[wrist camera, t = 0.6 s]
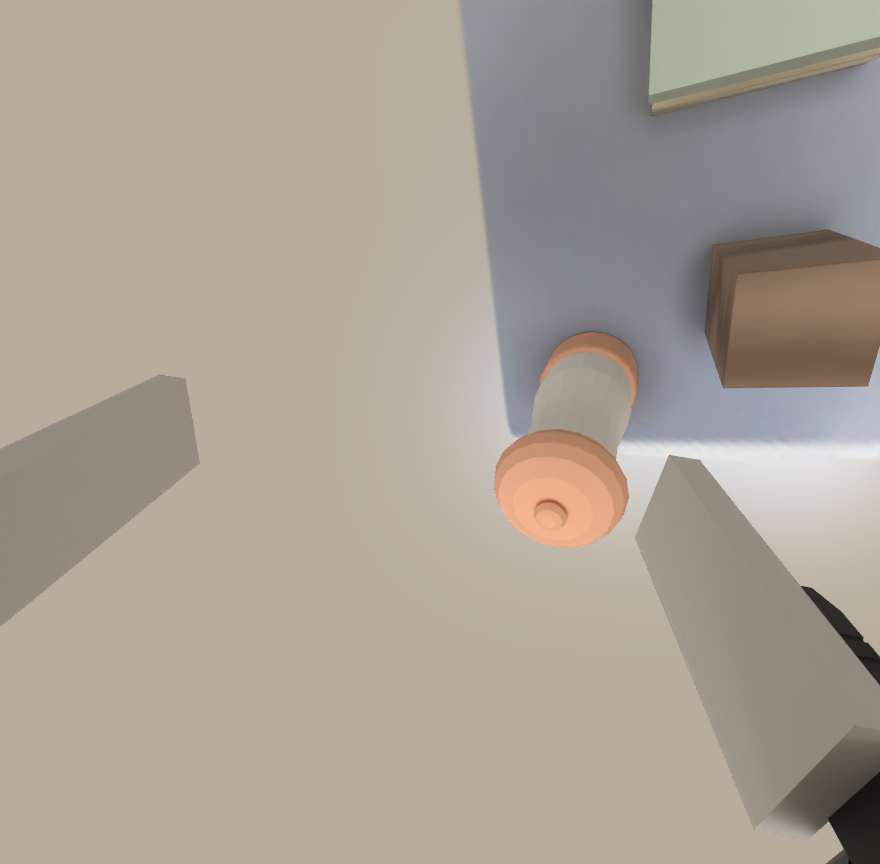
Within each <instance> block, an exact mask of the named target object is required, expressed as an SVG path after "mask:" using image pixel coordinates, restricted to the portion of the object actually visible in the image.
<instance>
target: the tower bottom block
mask: <svg viewBox="0 0 880 864" xmlns="http://www.w3.org/2000/svg"><path fill="white" fill-rule="evenodd" d="M879 56H880V47H879V48H875V49H871V50H867V51H863V52H859V53H855V54H851V55H847V56H843V57H839V58H835V59H831V60H827V61H823V62H819V63H815V64H811V65H807V66H803V67H799V68H795V69H791V70H787V71H783V72H778V73H774V74H770V75H766V76H762V77H758V78H754V79H750V80H746V81H742V82H738V83H734V84H730V85H726V86H722V87H718V88H714V89H710V90H706V91H702V92H698V93H694V94H690V95H686V96H682V97H678V98H674V99H670V100H666V101H662V102H657V103H653V104H652V116H654V115H658V114H662V113H666V112H670V111H675V110H679V109H683V108H687V107H691V106H695V105H699V104H703V103H707V102H711V101H715V100H719V99H723V98H727V97H731V96H735V95H740V94H744V93H748V92H752V91H756V90H760V89H764V88H768V87H772V86H776V85H780V84H784V83H788V82H792V81H796V80H800V79H804V78H809V77H813V76H817V75H821V74H825V73H829V72H833V71H837V70H841V69H845V68H849V67H853V66H857V65H861V64H864V63H867V62H869V61H871V60H873V59H875V58H877V57H879Z"/></svg>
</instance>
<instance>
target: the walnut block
mask: <svg viewBox="0 0 880 864" xmlns="http://www.w3.org/2000/svg"><path fill="white" fill-rule="evenodd" d="M705 335H706V338H707V341H708V344H709V347H710V350H711V353H712V356H713V359H714V362H715V365H716V368H717V371H718V374H719V377H720V380H721V383H722V386H723V388H773V387H858V386H868V384H869V381H870V377H871V374H872V370H873V367H874V364H875V360H876V357H877V353H878V350H879V346H880V248H878V247H875V246H873V245H870V244H867V243H864V242H861V241H859V240H856V239H853V238H850V237H847V236H845V235H842V234H839V233H836V232H833V231H831V230H823V231H816V232H808V233H800V234H793V235H785V236H777V237H770V238H762V239H754V240H747V241H739V242H731V243H724V244H716V245H713V253H712V263H711V274H710V284H709V294H708V305H707V315H706V325H705Z"/></svg>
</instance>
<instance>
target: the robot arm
mask: <svg viewBox="0 0 880 864" xmlns="http://www.w3.org/2000/svg"><path fill="white" fill-rule="evenodd" d="M199 463H200V461H199V455H198V450H197V444H196V438H195V433H194V426H193V420H192V414H191V408H190V403H189V397H188V391H187V386H186V380H185V379H184V378H177V377H171V376H165V375H158V376H155V377H153V378H151V379H149V380H147V381H145V382H142V383H141V384H138V385H136V386H134V387H132V388H130V389H127V390H125V391H123V392H121V393H119V394H117V395H115V396H113V397H110V398H108V399H106V400H104V401H102V402H99V403H97V404H95V405H93V406H91V407H89V408H87V409H85V410H82V411H80V412H78V413H76V414H74V415H72V416H69V417H68V418H65V419H63V420H61V421H59V422H57V423H54V424H52V425H50V426H48V427H46V428H44V429H42V430H39V431H37V432H35V433H33V434H31V435H29V436H27V437H25V438H22V439H20V440H18V441H16V442H14V443H12V444H9V445H7V446H5V447H3V448H1V449H0V627H1V626H2V625H3V624H4V623H5V622H7V621H8V620H9V619H10V618H12V617H13V616H14V615H15V614H17V612H19V611H20V610H21V609H23V608H24V607H25V606H26V605H27V604H29V603H30V602H31V601H32V600H34V599H35V598H36V597H37V596H38V595H40V594H41V593H42V592H43V591H45V590H46V589H47V588H48V587H49V586H51V585H52V584H53V583H54V582H56V581H57V580H58V579H59V578H60V577H62V576H63V575H64V574H65V573H67V571H69V570H70V569H71V568H73V567H74V566H75V565H76V564H78V563H79V562H80V561H81V560H82V559H84V558H85V557H86V556H87V555H88V554H90V553H91V552H92V551H93V550H95V549H96V548H97V547H98V546H100V545H101V544H102V543H103V542H104V541H105V540H107V539H108V538H109V537H110V536H111V535H113V534H114V533H115V532H117V531H118V530H119V529H120V528H121V527H123V526H124V525H125V524H126V523H127V522H129V521H130V520H131V519H132V518H134V517H135V516H136V515H137V514H139V512H141V511H142V510H143V509H144V508H146V507H147V506H148V505H149V504H150V503H152V502H153V501H154V500H156V499H157V498H158V497H159V496H160V495H162V494H163V493H164V492H165V491H166V490H167V489H169V488H170V487H171V486H173V485H174V484H175V483H176V482H178V481H179V480H180V479H181V478H182V477H184V476H185V475H186V474H187V473H189V472H190V471H191V470H192V469H193V468H195V467H196V466H197V465H198V464H199ZM635 538H636V541H637V544H638V546H639V549H640V551H641V554H642V556H643V559H644V561H645V563H646V566H647V568H648V571H649V573H650V576H651V578H652V581H653V583H654V585H655V588H656V590H657V593H658V595H659V598H660V600H661V602H662V605H663V608H664V610H665V613H666V615H667V617H668V620H669V622H670V625H671V627H672V630H673V632H674V634H675V637H676V640H677V642H678V645H679V647H680V649H681V652H682V654H683V657H684V659H685V662H686V664H687V666H688V669H689V672H690V674H691V676H692V679H693V681H694V684H695V686H696V689H697V691H698V693H699V696H700V698H701V701H702V703H703V706H704V708H705V711H706V713H707V715H708V718H709V721H710V723H711V726H712V728H713V730H714V733H715V735H716V738H717V740H718V743H719V745H720V748H721V750H722V753H723V755H724V757H725V760H726V762H727V765H728V767H729V770H730V772H731V775H732V777H733V779H734V782H735V784H736V787H737V789H738V792H739V794H740V796H741V799H742V801H743V804H744V806H745V809H746V811H747V814H748V816H749V819H750V821H751V824H752V826H753V828H754V830H758V831H763V832H768V833H773V834H777V835H782V836H787V837H791V838H796V839H801V840H806V841H807V840H808V839H809V838H810V837H812V836H813V835H814V834H815V833H816V832H817V831H818V830H819V829H821V828H822V827H823V826H824V825H825V824H826V823H827V822H828V821H829V822H830V823H831V826H832V827H833V829H834V831H835V833H836V835H837V837H838V839H839V840H840V842H841V844H842V846H843V848H844V850H842V851H841V852H840V853H839V854H837V855H836V856H835V857H834V858H832V860H830V861H829V862H828V863H826V864H880V656H879V655H878V654H877V653H876V652H875V651H874V649H873V648H872V647H871V646H870V645H869V643H865V642H864V641H863V636H862V635H861V634H860V633H859V632H858V631H857V630H856V628H855V627H854V626H853V625H852V624H851V623H850V621H849V620H848V619H847V618H846V617H845V615H844V614H843V613H842V612H841V611H840V610H839V609H837V608H836V607H835V606H834V605H832V604H831V603H830V602H829V601H827V600H826V599H825V598H824V597H822V596H821V595H820V594H819V593H817V592H816V591H815V590H814V589H812V588H809V587H804V586H800V585H799V584H798V583H797V581H796V580H795V579H794V578H793V576H792V575H791V574H790V573H789V571H788V570H787V569H786V568H785V566H784V565H783V564H782V562H781V561H780V560H779V559H778V557H777V556H776V555H775V554H774V553H773V551H772V550H771V549H770V548H769V547H768V545H767V544H766V542H765V541H764V540H763V539H762V538H761V536H760V535H759V534H758V532H757V531H756V530H755V529H754V527H752V525H751V524H750V522H749V521H748V520H747V519H746V517H745V516H744V515H743V514H742V513H741V511H740V510H739V509H738V507H737V506H736V505H735V504H734V502H733V501H732V500H731V499H730V497H729V496H728V495H727V494H726V492H725V491H724V490H723V489H722V488H721V486H720V485H719V484H718V482H717V481H716V480H715V479H714V478H713V476H712V475H711V474H710V472H709V471H708V470H707V469H706V468H705V466H704V465H703V464H702V462H701V461H700V460H697V459H690V458H684V457H678V456H671V455H669V456H668V459H667V461H666V464H665V466H664V469H663V471H662V474H661V476H660V478H659V481H658V483H657V486H656V488H655V490H654V493H653V495H652V498H651V500H650V502H649V505H648V507H647V510H646V512H645V515H644V517H643V519H642V522H641V524H640V527H639V529H638V532H637V534H636V536H635Z"/></svg>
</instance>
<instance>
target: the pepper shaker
mask: <svg viewBox="0 0 880 864" xmlns="http://www.w3.org/2000/svg"><path fill="white" fill-rule="evenodd" d="M637 384H638V370H637V362H636V360H635V358H634V356H633V354H632V352H631V350H630V349H629V348H628V347H627V346H626V345H625V344H624V343H623V342H622V341H621V340H619V339H617V338H615V337H613V336H610V335H608V334H605V333H597V332H587V333H581V334H576V335H574V336H572V337H570V338H568V339H566V340H564V341H563V342H562V343H561V344H560V345H559V346H558V347H557V348H556V349H555V350H554V351H553V353H552V355H551V357H550V359H549V361H548V363H547V365H546V367H545V369H544V371H543V372H542V374H541V377H540V384H539V390H538V391H537V393H536V395H535V399H534V406H533V414H532V422H531V425H530V428H529V430H528V432H527V434H526V436H524V437H521V438H520V439H518V440H517V441H515V442H514V443H513V444H512V445H511V446H510V447H508V448H507V449H506V450H505V451H504V452H503V453H502V456H501V457H500V459H499V461H498V463H497V465H496V472H495V485H494V490H495V493H496V497H497V500H498V504H499V506H500V507H501V509H502V511H503V512H504V514H505V515H506V517H507V519H508V520H509V521H510V523H511V524H512V525H513V526H514V527H515V528H517V529H518V530H519V531H520V532H521V533H522V534H524V535H525V536H527V537H529V538H531V539H533V540H535V541H537V542H540V543H543V544H546V545H550V546H553V547H567V548H572V547H577V546H583V545H588V544H590V543H592V542H594V541H596V540H598V539H600V538H602V537H603V536H605V535H607V534H609V533H610V532H611V530H612V529H613V528H614V527H615V526H616V524H618V522H619V521H620V520H621V518H622V516H623V515H624V512H625V509H626V505H627V502H628V499H629V494H628V486H627V479H626V477H625V475H624V474H623V472H622V470H621V468H620V467H619V465H618V463H617V461H616V455H617V448H618V446H619V444H620V441H621V439H622V437H623V435H624V433H625V431H626V428H627V426H628V422H629V419H630V415H631V408H632V406H633V405H634V401H635V397H636V394H637Z"/></svg>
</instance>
